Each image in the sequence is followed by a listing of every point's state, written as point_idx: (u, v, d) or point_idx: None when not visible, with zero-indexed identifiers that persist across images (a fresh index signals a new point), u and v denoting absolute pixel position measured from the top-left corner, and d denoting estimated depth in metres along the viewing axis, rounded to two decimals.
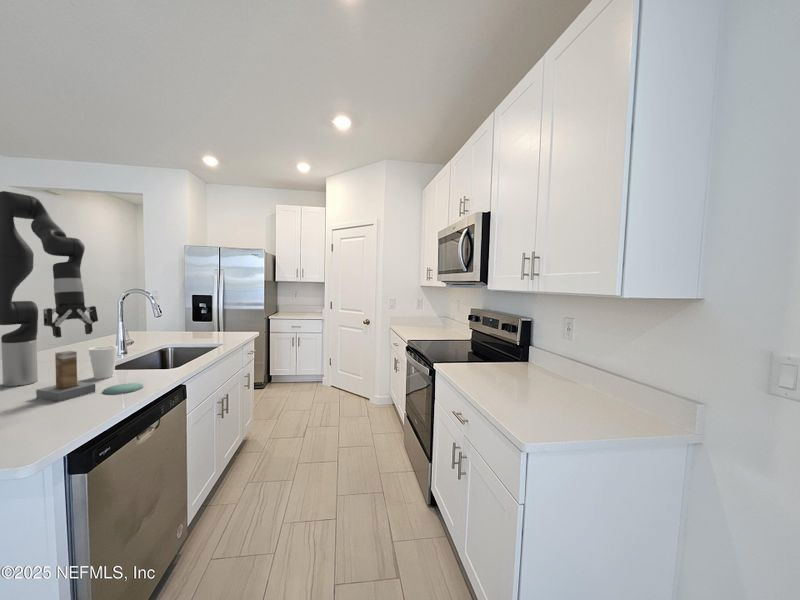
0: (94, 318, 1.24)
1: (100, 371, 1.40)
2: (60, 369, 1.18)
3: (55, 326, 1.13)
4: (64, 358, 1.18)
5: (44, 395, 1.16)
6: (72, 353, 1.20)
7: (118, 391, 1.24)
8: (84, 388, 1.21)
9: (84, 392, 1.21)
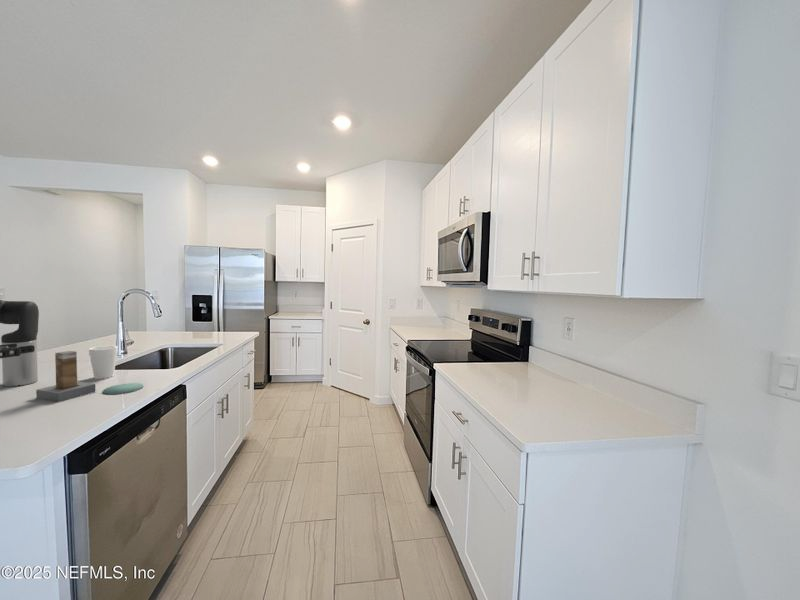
0: None
1: (100, 371, 1.40)
2: (60, 369, 1.18)
3: None
4: (64, 358, 1.18)
5: (44, 395, 1.16)
6: (72, 353, 1.20)
7: (118, 391, 1.24)
8: (84, 388, 1.21)
9: (84, 392, 1.21)
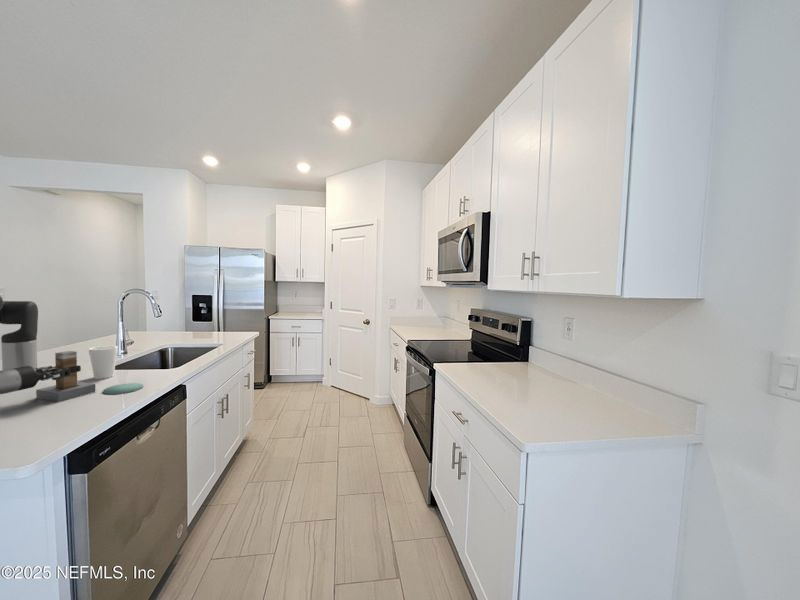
0: None
1: (100, 371, 1.40)
2: None
3: None
4: (64, 358, 1.18)
5: (44, 395, 1.16)
6: (72, 353, 1.20)
7: (118, 391, 1.24)
8: (84, 388, 1.21)
9: (84, 392, 1.21)
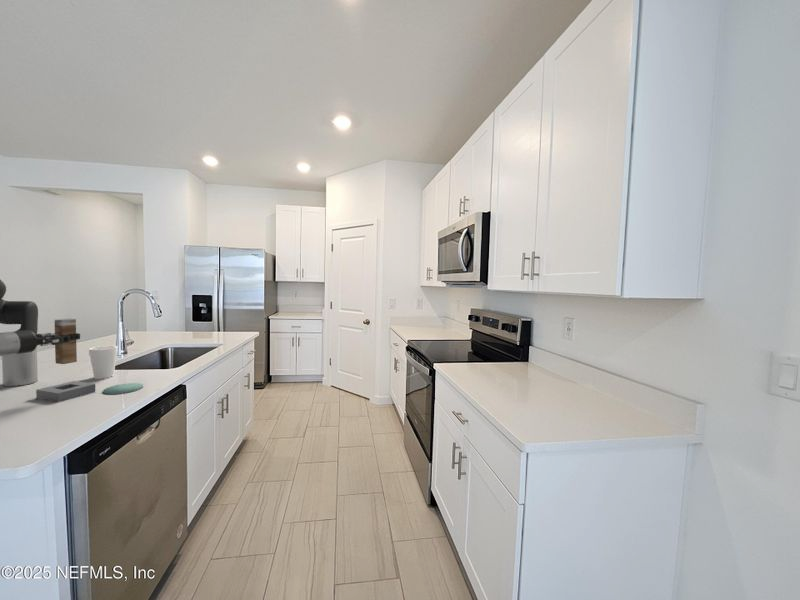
0: None
1: (100, 371, 1.40)
2: None
3: None
4: (63, 325, 1.17)
5: (44, 395, 1.16)
6: (71, 320, 1.20)
7: (118, 391, 1.24)
8: (84, 388, 1.21)
9: (84, 392, 1.21)
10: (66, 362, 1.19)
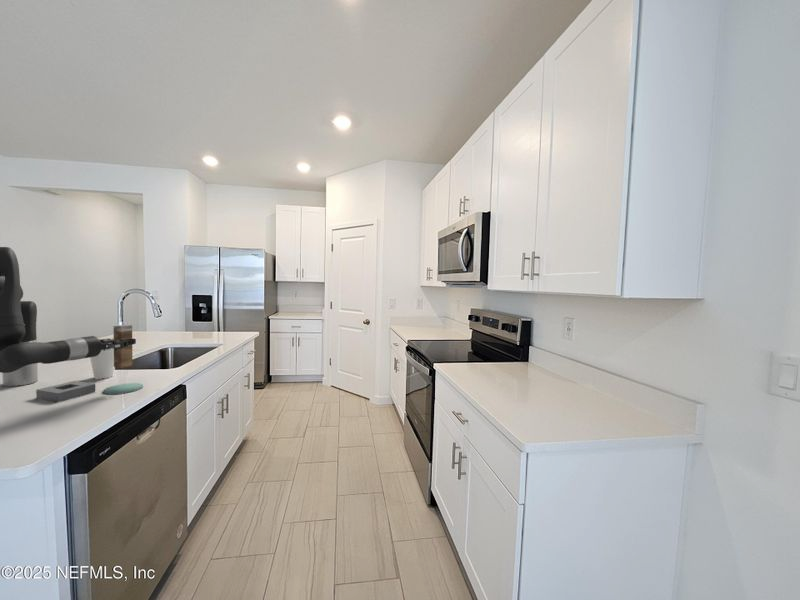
0: None
1: (100, 371, 1.40)
2: None
3: None
4: (122, 331, 1.25)
5: (44, 395, 1.16)
6: (128, 326, 1.27)
7: (118, 391, 1.24)
8: (84, 388, 1.21)
9: (84, 392, 1.21)
10: (124, 366, 1.26)
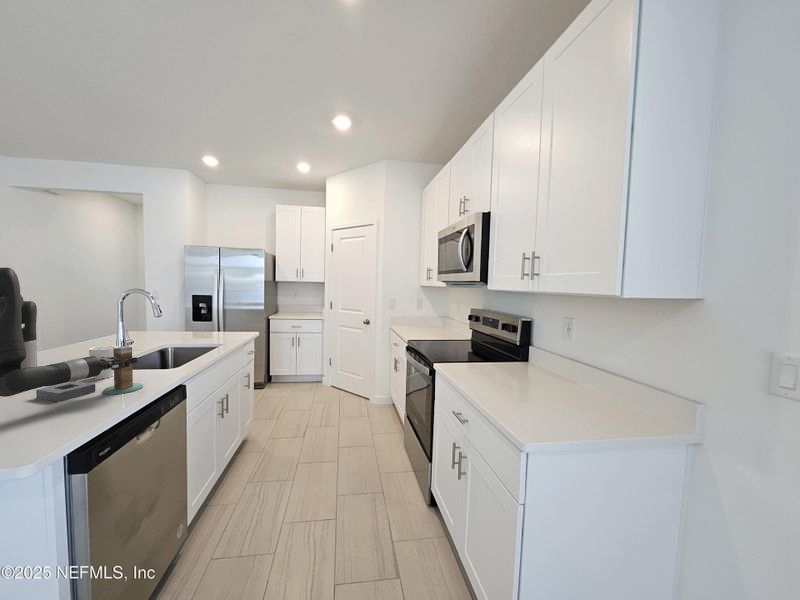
0: None
1: None
2: None
3: None
4: (122, 353, 1.26)
5: (44, 395, 1.16)
6: (128, 348, 1.28)
7: (118, 391, 1.24)
8: (84, 388, 1.21)
9: (84, 392, 1.21)
10: (124, 387, 1.27)
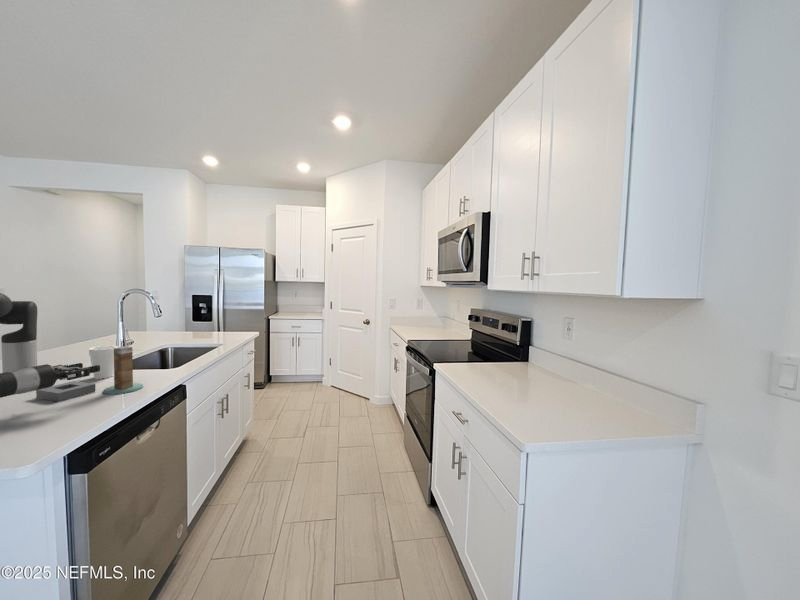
0: None
1: (100, 371, 1.40)
2: (118, 363, 1.26)
3: None
4: (122, 353, 1.25)
5: (44, 395, 1.16)
6: (129, 348, 1.28)
7: (118, 391, 1.24)
8: (84, 388, 1.21)
9: (84, 392, 1.21)
10: (124, 388, 1.27)
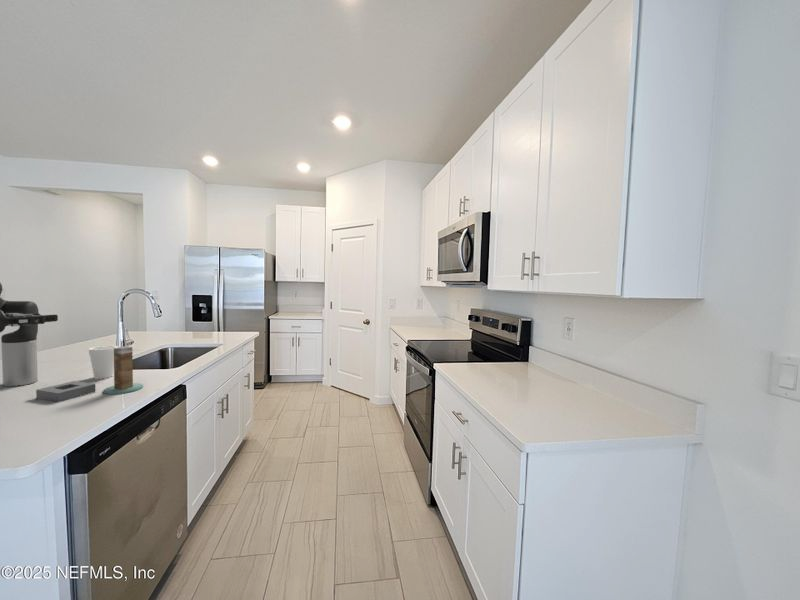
0: None
1: (100, 371, 1.40)
2: (118, 363, 1.26)
3: None
4: (122, 353, 1.25)
5: (44, 395, 1.16)
6: (129, 348, 1.28)
7: (118, 391, 1.24)
8: (84, 388, 1.21)
9: (84, 392, 1.21)
10: (124, 388, 1.27)
